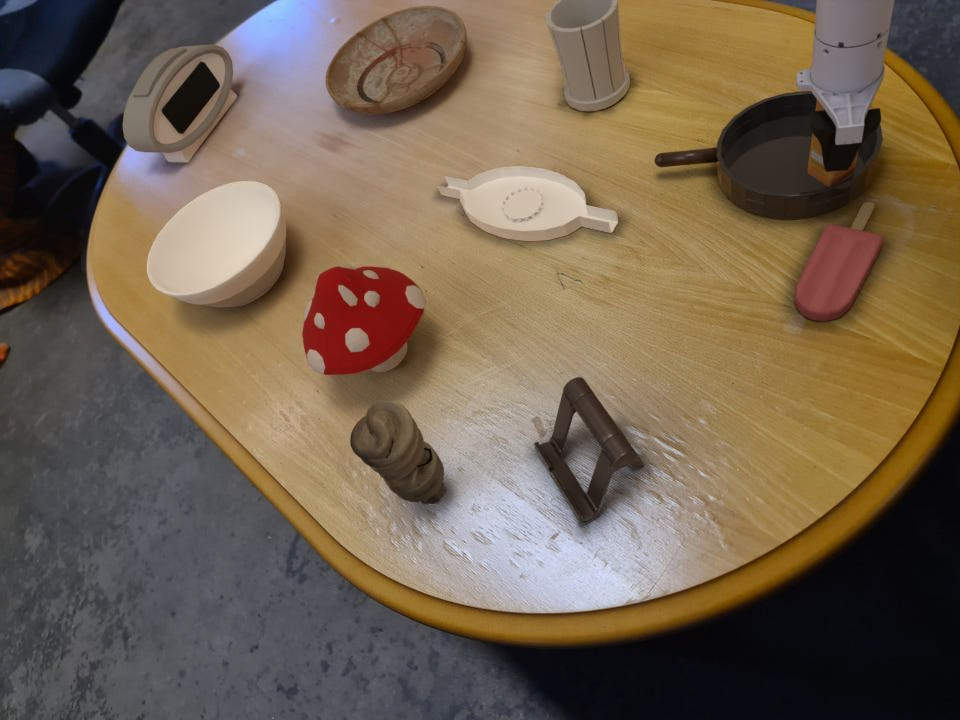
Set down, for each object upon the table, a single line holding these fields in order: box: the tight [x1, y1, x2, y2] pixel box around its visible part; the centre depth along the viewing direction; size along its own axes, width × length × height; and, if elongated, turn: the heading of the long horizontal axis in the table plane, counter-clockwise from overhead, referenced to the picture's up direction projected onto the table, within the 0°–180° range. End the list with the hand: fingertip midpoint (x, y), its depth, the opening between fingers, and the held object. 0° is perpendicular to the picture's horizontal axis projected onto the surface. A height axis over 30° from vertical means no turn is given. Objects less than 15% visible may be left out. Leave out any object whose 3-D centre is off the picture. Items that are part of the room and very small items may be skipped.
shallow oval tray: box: [436, 165, 619, 242], centre depth 85 cm, size 10×25×2 cm, turn 58°
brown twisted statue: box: [349, 399, 447, 505], centre depth 62 cm, size 6×6×15 cm
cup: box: [545, 0, 631, 112], centre depth 90 cm, size 10×9×12 cm
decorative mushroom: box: [301, 263, 427, 376], centre depth 74 cm, size 14×14×15 cm
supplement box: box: [808, 100, 858, 186], centre depth 68 cm, size 3×3×10 cm
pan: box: [716, 90, 884, 221], centre depth 75 cm, size 16×16×4 cm
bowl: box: [146, 180, 287, 308], centre depth 92 cm, size 19×19×8 cm
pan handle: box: [654, 147, 725, 168], centre depth 79 cm, size 8×2×2 cm, turn 78°
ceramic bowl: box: [324, 5, 468, 115], centre depth 108 cm, size 23×24×5 cm
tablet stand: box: [533, 376, 645, 525], centre depth 61 cm, size 9×8×8 cm
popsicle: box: [794, 201, 885, 322], centre depth 68 cm, size 5×2×15 cm
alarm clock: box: [122, 43, 238, 163], centre depth 116 cm, size 23×6×13 cm, turn 158°
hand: (835, 151), depth 69 cm, fingers closed on supplement box, 4 cm apart
